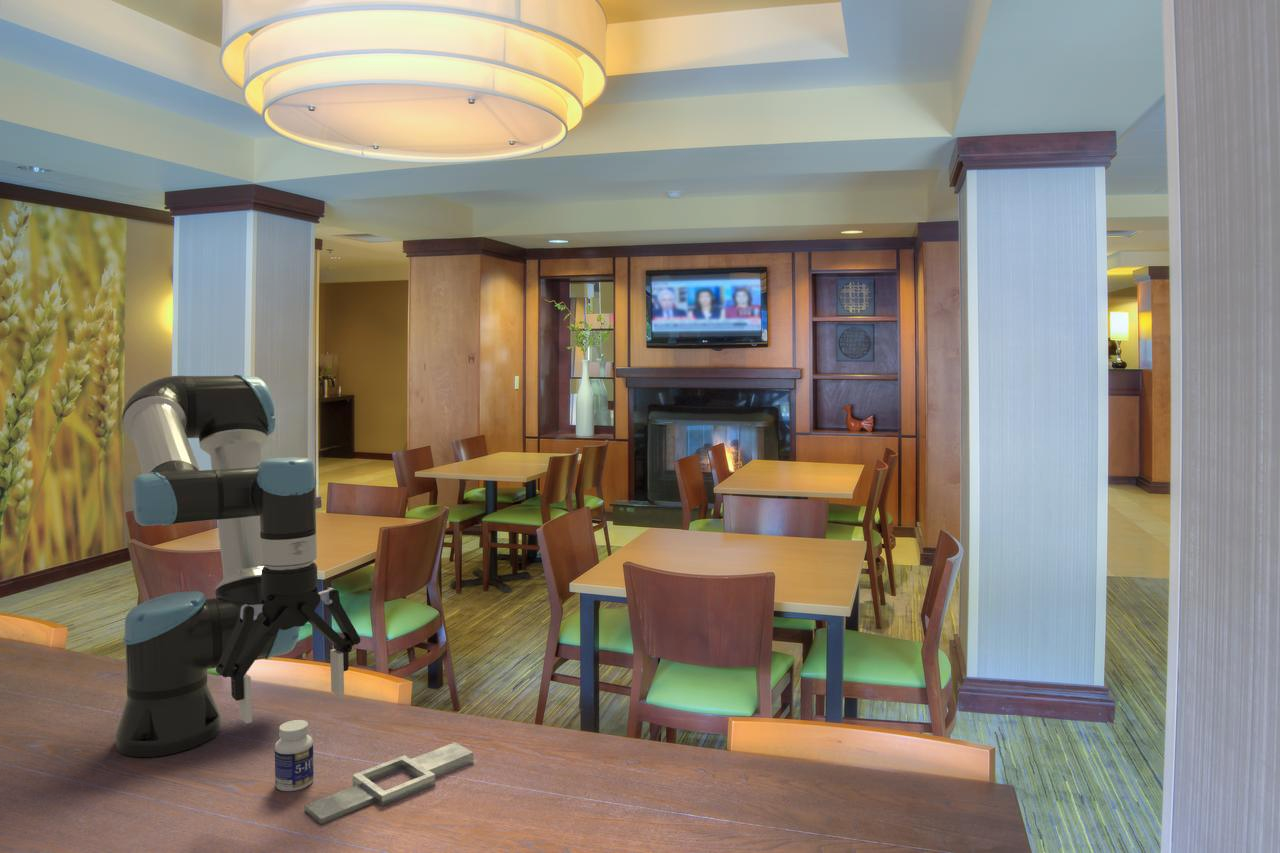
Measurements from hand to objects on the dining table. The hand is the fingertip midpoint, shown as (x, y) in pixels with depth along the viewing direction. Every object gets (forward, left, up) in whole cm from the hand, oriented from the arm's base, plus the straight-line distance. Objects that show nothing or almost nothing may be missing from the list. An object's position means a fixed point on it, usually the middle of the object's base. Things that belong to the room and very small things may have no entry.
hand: (293, 706), depth 121 cm
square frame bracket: (+11, +10, -12) cm, 19 cm away
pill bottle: (0, 0, -12) cm, 12 cm away
